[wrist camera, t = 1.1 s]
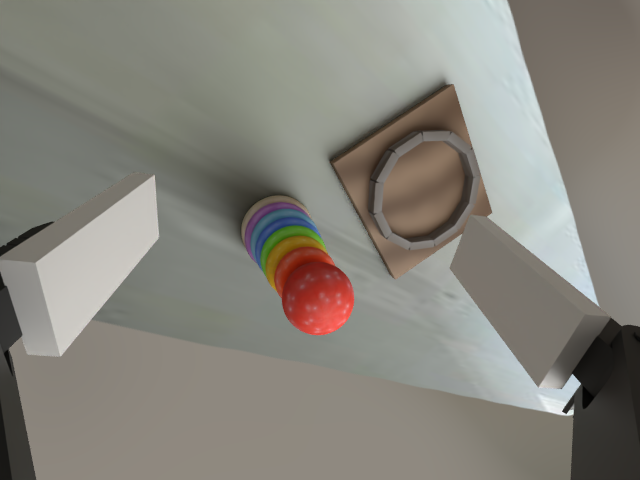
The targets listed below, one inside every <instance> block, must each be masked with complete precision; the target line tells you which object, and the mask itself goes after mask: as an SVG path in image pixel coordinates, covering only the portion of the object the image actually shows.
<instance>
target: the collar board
mask: <svg viewBox="0 0 640 480" xmlns="http://www.w3.org/2000/svg"><path fill="white" fill-rule="evenodd" d="M330 163H331V165H332V167H333V169H334V171H335V173H336V175H337V176H338V178H339V180H340V182H341V184H342V186H343V188H344V189H345V191H346V193H347V195H348V197H349V199H350V201H351V202H352V204H353V206H354V208H355V210H356V212H357V214H358V215H359V217H360V219H361V221H362V223H363V225H364V226H365V228H366V230H367V232H368V234H369V236H370V238H371V239H372V241H373V243H374V245H375V247H376V249H377V251H378V252H379V254H380V256H381V258H382V260H383V262H384V264H385V265H386V267H387V269H388V271H389V273H390V275H391V276H392V277H393V278H394V279H397V278H398V277H400V276H401V275H403V274H404V273H406V272H407V271H409V270H410V269H411V268H413V267H414V266H416V265H417V264H419V263H420V262H422V261H423V260H424V259H426V258H427V257H429V256H430V255H432V254H433V253H435V252H436V251H438V250H439V249H440V248H442V247H443V246H445V245H446V244H448V243H449V242H451V241H452V240H453V239H455V238H456V237H458V236H459V235H461V234H462V233H463V232H464V229H465V226H466V224H467V221H468V219H469V216H470V215H477V216H485V217H487V216H488V215H490V214H491V213H492V210H491V207H490V204H489V200H488V197H487V194H486V190H485V187H484V184H483V180H482V177H481V173H480V170H479V167H478V163H477V160H476V157H475V153H474V150H473V147H472V144H471V141H470V137H469V134H468V131H467V127H466V124H465V121H464V117H463V114H462V111H461V107H460V104H459V101H458V98H457V94H456V91H455V88H454V84H451V85H446V86H444V87H443V88H441V89H440V90H438V91H437V92H435V93H434V94H432V95H431V96H429V97H427V98H426V99H424V100H423V101H421V102H420V103H418V104H417V105H415V106H414V107H412V108H411V109H409V110H408V111H406V112H405V113H403V114H402V115H400V116H399V117H397V118H396V119H394V120H393V121H391V122H390V123H388V124H387V125H385V126H384V127H382V128H381V129H379V130H378V131H376V132H374V133H373V134H371V135H370V136H368V137H367V138H365V139H364V140H362V141H361V142H359V143H358V144H356V145H355V146H353V147H352V148H350V149H349V150H347V151H346V152H344V153H343V154H341V155H340V156H338V157H337V158H335V159H334V160H332V161H331V162H330Z"/></svg>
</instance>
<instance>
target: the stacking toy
mask: <svg viewBox="0 0 640 480" xmlns="http://www.w3.org/2000/svg"><path fill="white" fill-rule="evenodd" d="M241 235H242V240H243V243H244V246H245V248H246V249H247V251H248V254H249V255H250V257H251V258H252V259H253V260H254V261H255V262H256V263H257V264H258V265H259V267H260V269H261V270H262V271H263V272H264V274H265V276H266V277H267V279H268V282H269V283H270V285H271V286H272V287H273V288H274V289H275V290H276V291H277V292H278V294H279V296H280V297H281V298H282V305H283V309H284V312H285V315H286V317H287V318H288V320H289V321H290V322H291V323H292V324H293V325H294V326H295V327H296V328H297V329H299V330H300V331H302V332H305V333H308V334H312V335H324V334H328V333H331V332H333V331H335V330H337V329H338V328H340V327H341V326H342V325H343V324H344V323H345V322H346V321H347V319H348V318H349V316H350V314H351V312H352V309H353V305H354V292H353V288H352V285H351V283H350V281H349V279H348V277H347V276H346V275H345V274H344V272H342V271H341V270H340V269H339V268H337V267H336V266H335V264H334V262H333V260H332V259H331V257H330V256H329V255H328V253H327V251H326V248H325V244H324V242H323V240H322V239H321V236H320V234H319V232H318V230H317V227H316V225H315V224H314V222H313V221H312V219H311V216H310V214H309V212H308V210H307V209H306V208H305V206H304V205H302V204H301V203H300V202H299V201H297V200H295V199H293V198H291V197H287V196H280V195H279V196H270V197H267V198H264V199H262V200H260V201H258V202H257V203H256V204H254V205H253V206H252V207H251V208H250V209H249V211H248V212H247V213H246V215H245V217H244V219H243V222H242V227H241Z"/></svg>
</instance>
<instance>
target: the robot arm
mask: <svg viewBox="0 0 640 480" xmlns="http://www.w3.org/2000/svg"><path fill="white" fill-rule="evenodd" d="M158 238H159V230H158V216H157V202H156V188H155V175H153V174H145V173H137V172H133V173H132V174H130V175H129V176H127V177H125V178H124V179H122V180H121V181H119V182H117V183H116V184H114V185H113V186H111V187H110V188H108V189H106V190H105V191H103V192H102V193H100V194H98V195H97V196H95V197H94V198H92V199H91V200H89V201H87V202H86V203H84V204H83V205H81V206H79V207H78V208H76V209H75V210H73V211H72V212H70V213H68V214H67V215H65V216H64V217H62V218H60V219H59V220H57V221H56V222H49V223H46V224H43V225H40V226H37V227H34V228H32V229H30V230H28V231H27V232H25V233H23V234H22V235H20V236H18V238H15V239H13V240H12V241H10V242H8V243H7V245H6V246H5V245H3V246H2V247H0V480H36V476H35V471H34V466H33V461H32V456H31V451H30V446H29V441H28V436H27V431H26V426H25V421H24V416H23V411H22V406H21V401H20V396H19V391H18V386H17V381H16V376H15V371H14V366H13V361H12V357H11V354H10V351H9V348H10V347H11V346H12V345H13V344H14V343H15V342H16V341H17V340H18V339H19V338H20V337H22V340H23V343H24V346H25V349H26V352H27V354H28V355H43V356H44V355H45V356H59V357H60V356H61V355H62V354H63V353H64V352H65V350H66V349H67V348H68V347H69V346H70V344H71V343H72V342H73V340H74V339H75V338H76V337H77V336H78V335H79V334H80V332H81V331H82V330H83V329H84V327H85V326H86V325H87V324H88V323H89V321H90V320H91V319H92V318H93V317H94V315H95V314H96V313H97V312H98V311H99V309H100V308H101V307H102V306H103V305H104V303H105V302H106V301H107V300H108V299H109V297H110V296H111V295H112V294H113V292H114V291H115V290H116V289H117V288H118V286H119V285H120V284H121V283H122V282H123V280H124V279H125V278H126V277H127V276H128V274H129V273H130V272H131V271H132V270H133V268H134V267H135V266H136V265H137V263H138V262H139V261H140V260H141V259H142V257H143V256H144V255H145V254H146V253H147V251H148V250H149V249H150V248H151V247H152V245H153V244H154V243H155V242H156V241H157V239H158ZM450 269H451V271H452V272H453V273H454V275H455V276H456V277H457V279H458V280H459V282H460V283H461V284H462V286H463V287H464V288H465V290H466V291H467V292H468V294H469V295H470V296H471V298H472V299H473V300H474V302H475V303H476V304H477V306H478V307H479V308H480V310H481V311H482V312H483V314H484V315H485V316H486V318H487V319H488V320H489V322H490V323H491V325H492V326H493V327H494V329H495V330H496V331H497V333H498V334H499V335H500V337H501V338H502V339H503V341H504V342H505V343H506V345H507V346H508V347H509V349H510V350H511V351H512V353H513V354H514V355H515V357H516V358H517V359H518V361H519V362H520V363H521V365H522V366H523V368H524V369H525V370H526V372H527V373H528V374H529V376H530V377H531V378H532V380H533V381H534V382H535V384H536V385H537V386H538V388H553V389H562V388H563V387H564V385H565V384H566V382H567V381H568V379H569V378H570V376H571V375H572V374H573V375H574V376H575V377H576V378H577V379H578V380H579V382H580V383H581V385H580V386H579V388H578V389H577V390H576V392H575V393H574V395H573V396H572V397H571V399H570V400H569V402H568V403H567V404H566V406H565V407H564V409H563V411H562V412H564V413H566V414H567V412H568V411H569V410H573V409H574V416H573V418H574V420H573V441H572V463H571V480H640V327H638V326H633V325H624V326H621V325H619V324H618V323H617V322H616V321H614V320H613V319H612V318H611V316H610V315H608V314H607V313H606V312H605V311H604V310H602V309H601V308H600V307H599V306H597V305H596V304H595V303H594V302H592V301H591V300H590V299H589V298H587V297H586V296H585V295H584V294H582V293H581V292H580V291H579V290H577V289H576V288H575V287H574V286H572V285H571V284H570V283H569V282H567V281H566V280H565V279H564V278H562V277H561V276H560V275H559V274H557V273H556V272H555V271H554V270H552V269H551V268H550V267H549V266H547V265H546V264H545V263H544V262H542V261H541V260H540V259H539V258H537V257H536V256H535V255H534V254H532V253H531V252H530V251H529V250H527V249H526V248H525V247H524V246H522V245H521V244H520V243H519V242H517V241H516V240H515V239H514V238H512V237H511V236H510V235H509V234H507V233H506V232H505V231H504V230H502V229H501V228H500V227H499V226H497V225H496V224H495V223H494V222H492V221H491V220H490V219H489V218H487V217H485V216H477V215H470V216H469V219H468V221H467V224H466V226H465V229H464V232H463V234H462V237H461V240H460V242H459V245H458V248H457V250H456V253H455V255H454V258H453V261H452V263H451V266H450Z"/></svg>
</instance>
